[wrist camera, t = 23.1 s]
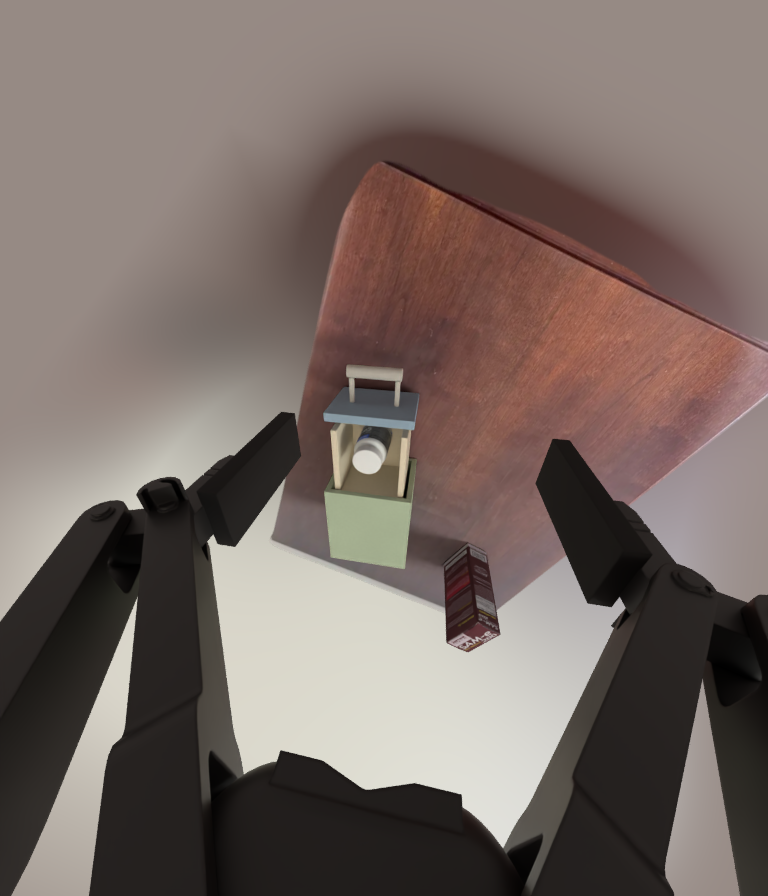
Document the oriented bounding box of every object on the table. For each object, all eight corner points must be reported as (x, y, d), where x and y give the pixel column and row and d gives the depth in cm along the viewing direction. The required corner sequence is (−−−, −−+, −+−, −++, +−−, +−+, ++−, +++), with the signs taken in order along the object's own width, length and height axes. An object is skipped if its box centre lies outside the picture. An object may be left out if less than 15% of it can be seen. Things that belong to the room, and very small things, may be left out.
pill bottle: (371, 413, 45) (358, 441, 38) (398, 428, 45) (390, 458, 38) (358, 435, 47) (343, 466, 40) (383, 450, 48) (373, 482, 41)
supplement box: (462, 572, 64) (467, 654, 50) (443, 563, 63) (443, 643, 50) (488, 551, 59) (502, 635, 46) (468, 541, 58) (476, 623, 45)
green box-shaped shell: (344, 450, 52) (323, 491, 42) (416, 458, 50) (411, 503, 41) (347, 511, 60) (330, 557, 50) (410, 520, 58) (404, 569, 49)
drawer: (341, 352, 42) (319, 373, 34) (422, 358, 40) (418, 381, 33) (347, 460, 52) (330, 495, 44) (412, 468, 50) (407, 505, 42)
